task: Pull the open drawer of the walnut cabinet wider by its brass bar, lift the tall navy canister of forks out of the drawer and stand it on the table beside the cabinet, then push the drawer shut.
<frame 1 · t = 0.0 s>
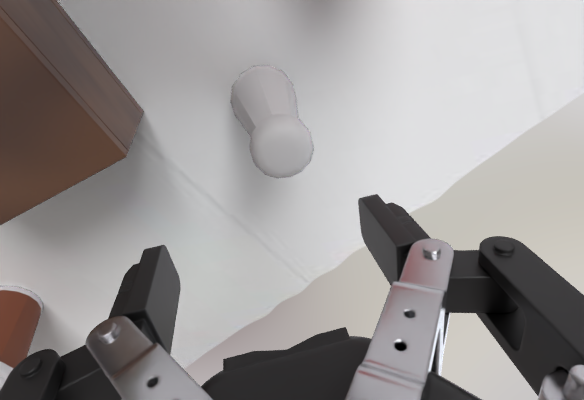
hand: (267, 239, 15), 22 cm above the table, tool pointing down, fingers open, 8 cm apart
salt shaker: (260, 89, 34), on the table
coffee cup: (12, 302, 43), on the table
cabinet: (1, 72, 29), on the table
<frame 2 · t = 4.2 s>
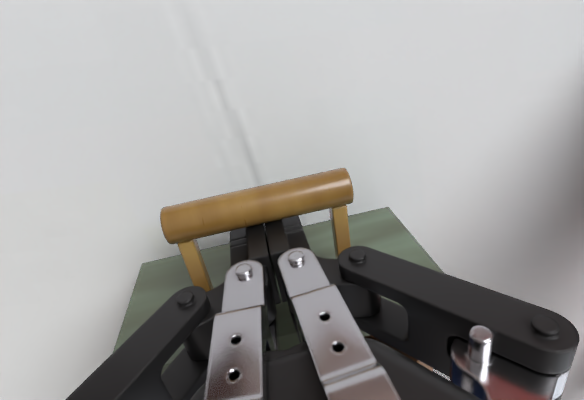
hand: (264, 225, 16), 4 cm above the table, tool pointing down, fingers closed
drawer: (293, 345, 19), point 4 cm above the table, slide at 9.0 cm, touching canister, gripper
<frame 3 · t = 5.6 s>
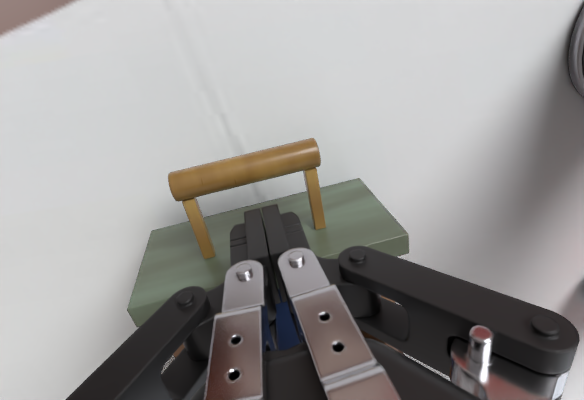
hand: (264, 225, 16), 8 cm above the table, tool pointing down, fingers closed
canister: (277, 281, 24), point 2 cm above the table, touching drawer
drawer: (281, 296, 22), point 4 cm above the table, slide at 11.3 cm, touching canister
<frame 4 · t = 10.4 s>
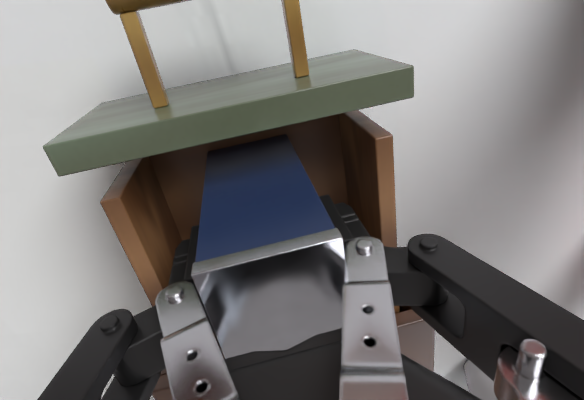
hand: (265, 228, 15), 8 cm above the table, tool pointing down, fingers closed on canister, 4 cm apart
salt shaker: (481, 358, 36), on the table
cabinet: (293, 327, 29), on the table
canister: (256, 178, 21), point 2 cm above the table, touching drawer, gripper
drawer: (256, 183, 18), point 4 cm above the table, slide at 11.3 cm, touching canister
when the fingers open (6 cm above the table, at t = 19.6 s): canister stays where it is, on the table.
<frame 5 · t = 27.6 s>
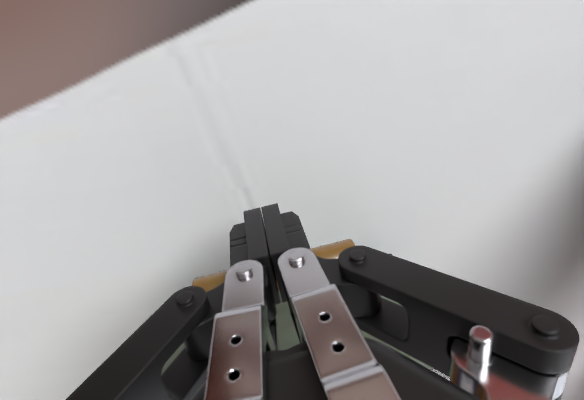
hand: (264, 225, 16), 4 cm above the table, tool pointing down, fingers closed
drawer: (307, 384, 21), point 4 cm above the table, slide at 11.0 cm, touching gripper
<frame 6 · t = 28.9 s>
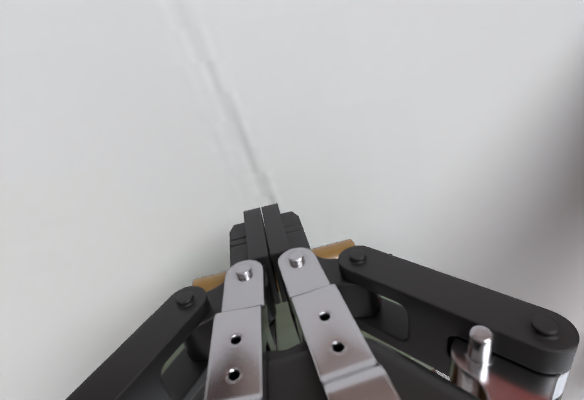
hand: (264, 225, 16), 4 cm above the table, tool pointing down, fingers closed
drawer: (307, 384, 20), point 4 cm above the table, slide at 4.5 cm, touching gripper
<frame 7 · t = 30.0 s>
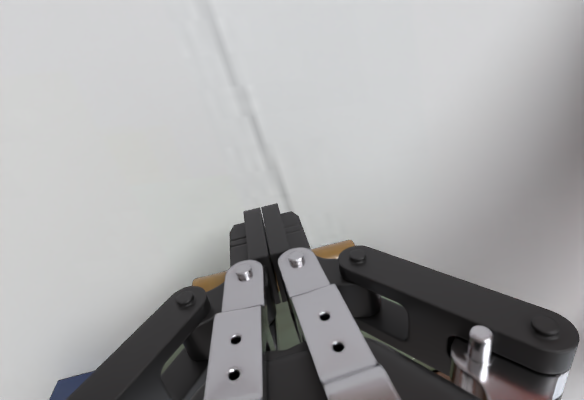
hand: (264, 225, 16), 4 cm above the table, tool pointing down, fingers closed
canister: (106, 391, 24), on the table
drawer: (306, 385, 20), point 4 cm above the table, slide at 0.0 cm, touching cabinet, gripper
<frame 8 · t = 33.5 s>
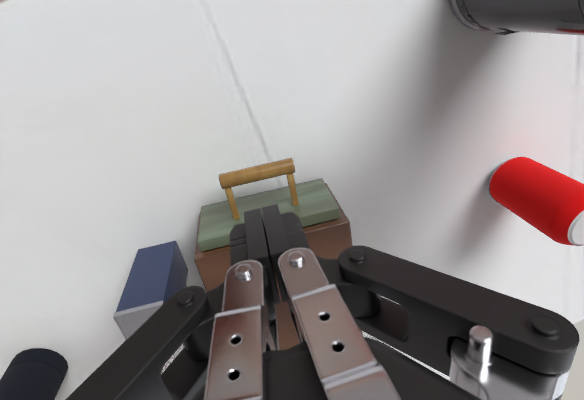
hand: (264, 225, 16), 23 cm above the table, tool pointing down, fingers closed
black bottle: (41, 364, 47), on the table
cabinet: (277, 252, 45), on the table
beverage can: (505, 176, 45), on the table
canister: (163, 259, 42), on the table
drawer: (274, 245, 39), point 4 cm above the table, slide at 0.0 cm, touching cabinet
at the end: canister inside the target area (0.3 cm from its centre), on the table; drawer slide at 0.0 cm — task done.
